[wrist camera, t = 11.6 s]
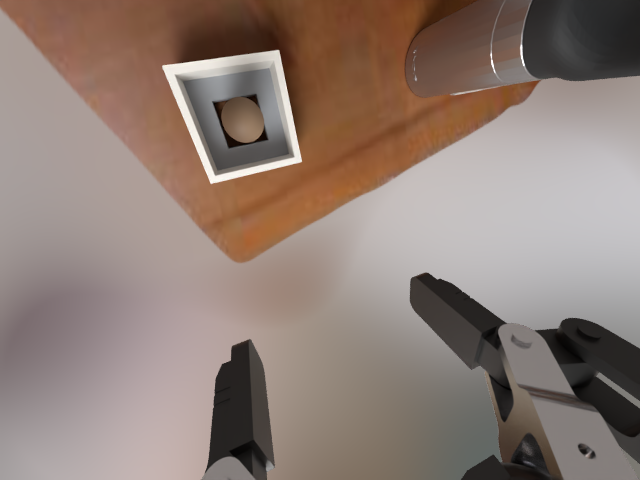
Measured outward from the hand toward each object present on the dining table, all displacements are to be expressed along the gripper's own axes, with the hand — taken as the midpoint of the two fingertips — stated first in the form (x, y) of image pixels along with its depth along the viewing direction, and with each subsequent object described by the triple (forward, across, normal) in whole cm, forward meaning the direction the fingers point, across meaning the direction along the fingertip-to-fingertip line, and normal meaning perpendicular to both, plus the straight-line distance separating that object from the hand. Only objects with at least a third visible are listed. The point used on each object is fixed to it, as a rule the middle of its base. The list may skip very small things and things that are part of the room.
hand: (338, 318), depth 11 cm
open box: (+30, +1, -9) cm, 31 cm away
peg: (+30, +1, -9) cm, 31 cm away
